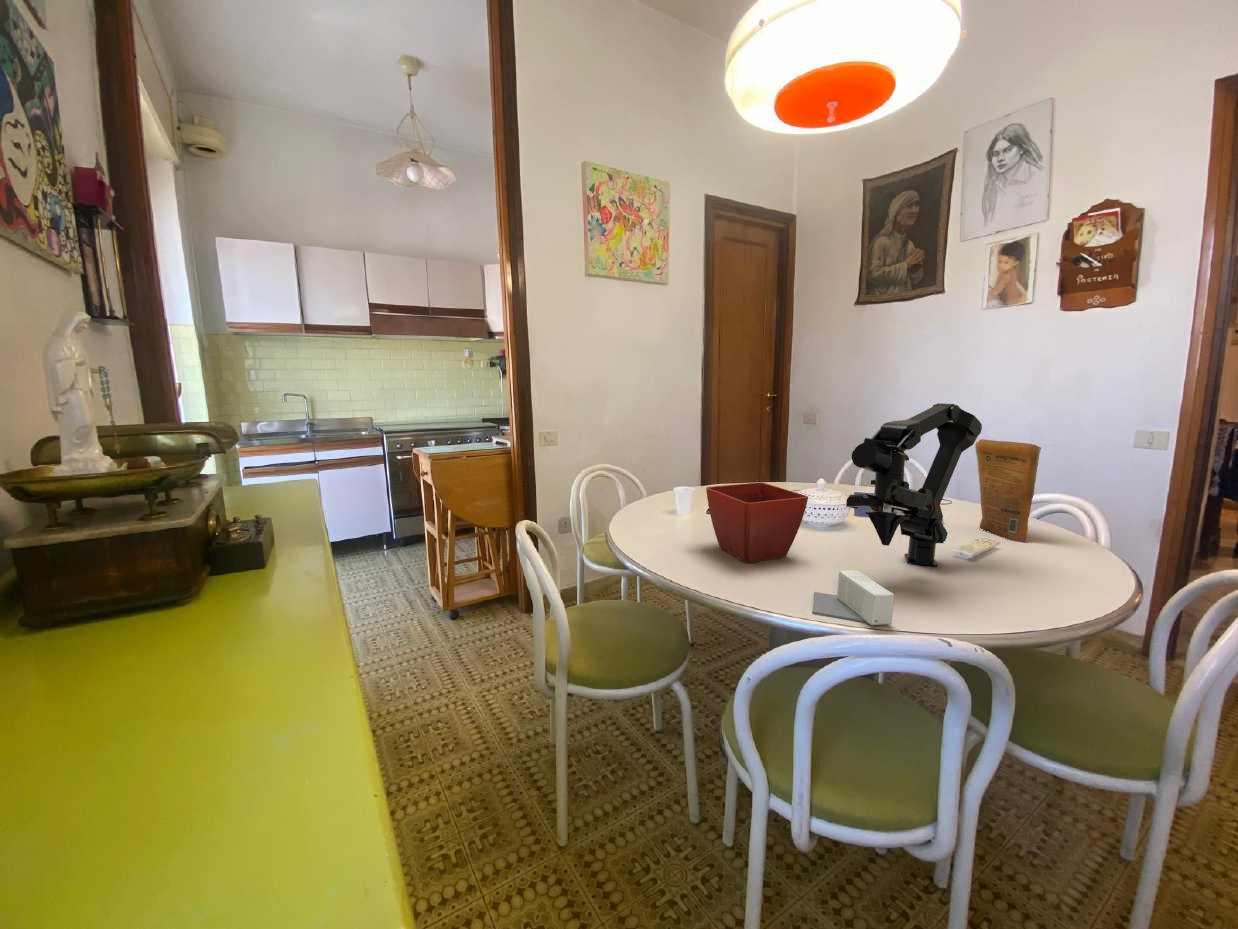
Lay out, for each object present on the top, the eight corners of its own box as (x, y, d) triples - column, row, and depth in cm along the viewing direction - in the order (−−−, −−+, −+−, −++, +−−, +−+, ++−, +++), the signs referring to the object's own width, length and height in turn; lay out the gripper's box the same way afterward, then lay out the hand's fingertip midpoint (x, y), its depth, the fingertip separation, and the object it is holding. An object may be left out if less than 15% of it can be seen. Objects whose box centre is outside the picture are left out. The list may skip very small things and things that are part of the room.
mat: (814, 593, 105) (814, 591, 105) (871, 602, 101) (871, 600, 101) (812, 613, 96) (812, 611, 96) (875, 624, 92) (875, 622, 92)
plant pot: (806, 560, 125) (810, 495, 122) (744, 570, 118) (747, 502, 115) (759, 538, 143) (762, 481, 140) (702, 546, 136) (704, 487, 133)
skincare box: (855, 596, 103) (892, 625, 91) (835, 597, 102) (870, 626, 90) (857, 569, 101) (895, 594, 90) (838, 570, 101) (873, 595, 89)
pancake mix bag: (1016, 545, 136) (1030, 445, 131) (963, 525, 155) (973, 437, 150) (1039, 544, 136) (1053, 444, 132) (983, 524, 155) (994, 437, 150)
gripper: (888, 465, 101) (883, 541, 99) (953, 481, 107) (950, 553, 104) (846, 470, 111) (842, 539, 109) (908, 484, 117) (905, 550, 115)
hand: (885, 545), depth 109 cm, fingers closed
